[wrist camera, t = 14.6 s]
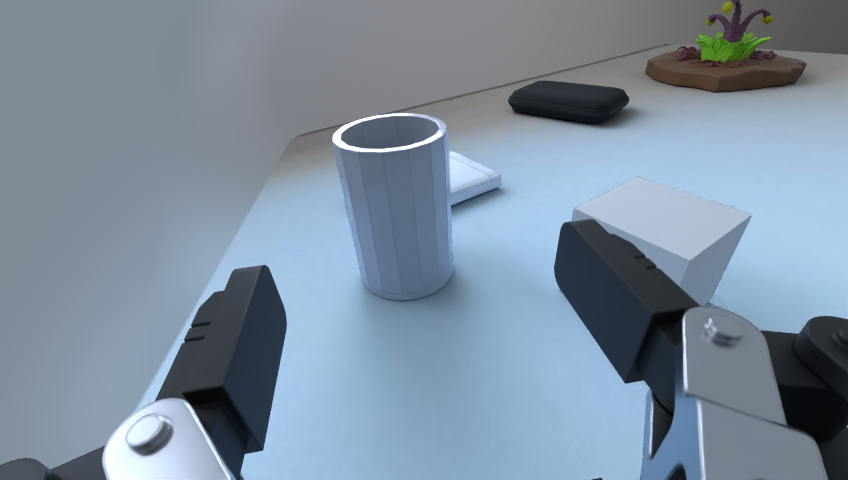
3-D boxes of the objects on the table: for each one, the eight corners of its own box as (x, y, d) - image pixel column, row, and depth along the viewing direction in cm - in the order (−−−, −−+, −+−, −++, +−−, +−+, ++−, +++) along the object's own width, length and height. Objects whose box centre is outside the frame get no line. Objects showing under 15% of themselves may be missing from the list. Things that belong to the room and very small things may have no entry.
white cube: (652, 351, 20) (689, 260, 16) (559, 290, 24) (573, 208, 20) (710, 300, 22) (753, 213, 19) (616, 254, 26) (638, 175, 23)
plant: (623, 74, 69) (638, 2, 63) (706, 60, 73) (729, -8, 67) (724, 98, 53) (758, 5, 47) (824, 79, 57) (867, -8, 51)
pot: (347, 295, 25) (311, 150, 19) (379, 240, 30) (357, 113, 24) (442, 306, 23) (433, 153, 18) (458, 246, 28) (455, 113, 23)
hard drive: (383, 217, 30) (501, 172, 35) (343, 181, 36) (450, 148, 41) (385, 234, 31) (500, 188, 36) (346, 197, 36) (450, 162, 42)
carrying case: (633, 107, 53) (538, 95, 61) (639, 84, 51) (540, 75, 60) (603, 129, 47) (502, 112, 55) (608, 104, 45) (503, 90, 54)
